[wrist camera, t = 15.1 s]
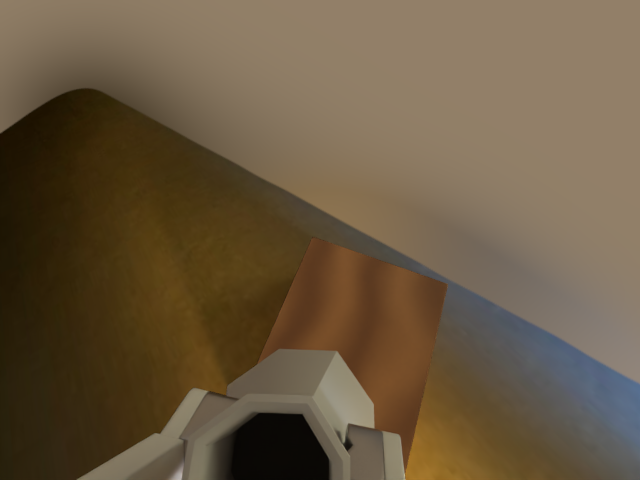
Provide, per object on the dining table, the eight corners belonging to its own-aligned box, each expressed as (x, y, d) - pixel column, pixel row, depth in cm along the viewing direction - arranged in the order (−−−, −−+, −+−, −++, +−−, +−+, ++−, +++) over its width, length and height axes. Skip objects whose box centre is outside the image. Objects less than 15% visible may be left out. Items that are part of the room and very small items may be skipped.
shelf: (246, 433, 30) (218, 450, 22) (313, 270, 37) (312, 236, 28) (370, 491, 28) (391, 533, 20) (418, 309, 35) (448, 284, 27)
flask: (207, 371, 16) (56, 345, 7) (347, 328, 17) (382, 254, 8) (233, 559, 13) (30, 959, 4) (402, 495, 14) (562, 696, 5)
